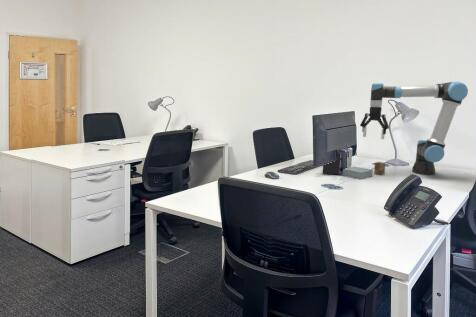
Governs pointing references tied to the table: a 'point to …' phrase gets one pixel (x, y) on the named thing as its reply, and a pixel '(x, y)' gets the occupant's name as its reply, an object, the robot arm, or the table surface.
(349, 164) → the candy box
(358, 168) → the slate base
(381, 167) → the walnut block
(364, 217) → the table surface
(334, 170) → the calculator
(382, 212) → the table surface
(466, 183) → the table surface
